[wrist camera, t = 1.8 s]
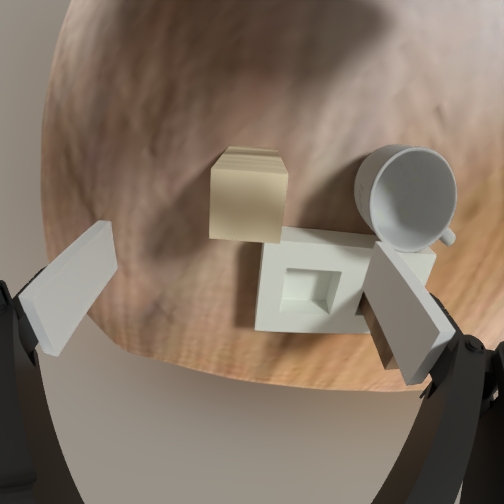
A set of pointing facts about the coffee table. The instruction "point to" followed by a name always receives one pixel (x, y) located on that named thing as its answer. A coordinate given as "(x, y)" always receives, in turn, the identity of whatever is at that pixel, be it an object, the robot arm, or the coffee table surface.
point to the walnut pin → (377, 335)
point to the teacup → (407, 196)
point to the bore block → (320, 280)
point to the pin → (248, 195)
